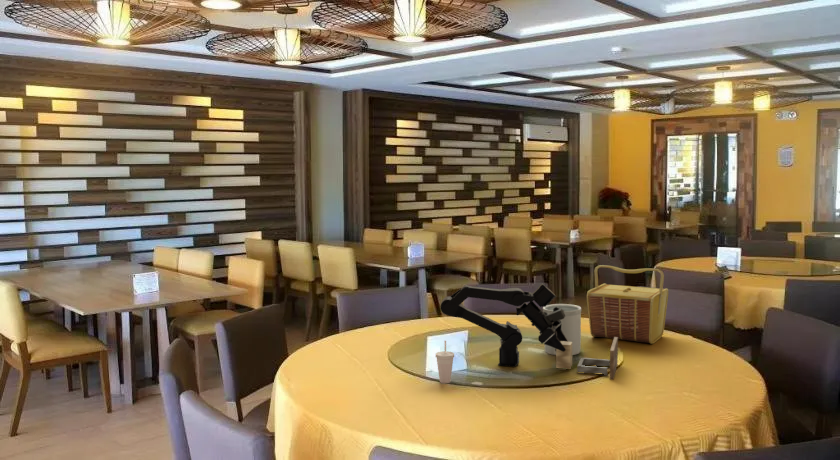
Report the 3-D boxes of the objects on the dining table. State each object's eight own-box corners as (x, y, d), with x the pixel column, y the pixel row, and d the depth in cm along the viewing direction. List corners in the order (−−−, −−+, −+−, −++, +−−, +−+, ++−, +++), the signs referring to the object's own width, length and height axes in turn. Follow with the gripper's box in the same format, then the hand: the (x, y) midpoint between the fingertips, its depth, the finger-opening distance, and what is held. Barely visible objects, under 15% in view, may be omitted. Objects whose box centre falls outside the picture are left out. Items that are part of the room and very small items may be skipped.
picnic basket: (670, 335, 305) (671, 265, 303) (654, 348, 284) (656, 273, 281) (603, 327, 321) (604, 260, 318) (583, 339, 299) (584, 268, 297)
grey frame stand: (575, 376, 248) (575, 347, 247) (582, 361, 266) (582, 334, 266) (613, 379, 243) (613, 350, 243) (617, 363, 262) (617, 337, 261)
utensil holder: (538, 354, 277) (539, 309, 275) (547, 345, 290) (547, 302, 289) (577, 357, 271) (577, 312, 270) (583, 348, 285) (584, 304, 283)
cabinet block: (554, 368, 257) (554, 343, 257) (556, 364, 262) (556, 340, 261) (570, 369, 256) (570, 345, 255) (572, 366, 260) (572, 341, 259)
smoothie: (456, 379, 245) (456, 339, 244) (451, 385, 239) (451, 344, 238) (438, 378, 247) (438, 338, 246) (433, 383, 241) (432, 342, 240)
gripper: (547, 306, 249) (579, 339, 247) (555, 296, 267) (585, 327, 264) (525, 327, 253) (556, 359, 250) (534, 316, 270) (563, 346, 268)
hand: (566, 347), depth 258 cm, fingers open, 9 cm apart
